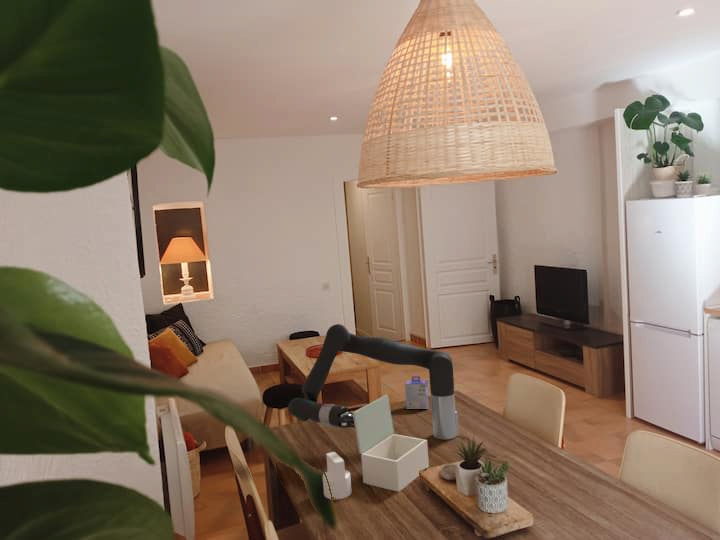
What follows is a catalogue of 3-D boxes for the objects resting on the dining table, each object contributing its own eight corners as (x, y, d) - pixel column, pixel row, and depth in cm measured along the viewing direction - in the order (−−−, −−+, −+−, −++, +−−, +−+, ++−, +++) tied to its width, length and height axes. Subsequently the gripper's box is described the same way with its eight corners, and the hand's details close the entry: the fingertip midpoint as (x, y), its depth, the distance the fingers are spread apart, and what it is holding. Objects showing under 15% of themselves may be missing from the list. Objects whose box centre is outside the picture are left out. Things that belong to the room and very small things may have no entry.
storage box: (363, 483, 197) (361, 454, 196) (394, 460, 213) (393, 433, 212) (398, 491, 189) (396, 461, 188) (428, 467, 205) (427, 440, 204)
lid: (361, 453, 196) (359, 453, 196) (394, 432, 212) (391, 432, 213) (354, 412, 195) (352, 412, 196) (387, 394, 212) (385, 394, 212)
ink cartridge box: (429, 406, 270) (427, 375, 269) (428, 410, 265) (426, 378, 264) (407, 406, 272) (405, 375, 271) (406, 410, 267) (404, 379, 266)
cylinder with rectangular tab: (320, 490, 194) (317, 455, 193) (345, 484, 197) (342, 449, 196) (329, 502, 185) (326, 465, 184) (355, 494, 189) (353, 458, 188)
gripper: (321, 410, 209) (360, 417, 199) (344, 400, 220) (382, 406, 209) (323, 431, 210) (362, 439, 199) (346, 419, 220) (384, 426, 210)
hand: (372, 422), depth 204 cm, fingers closed
